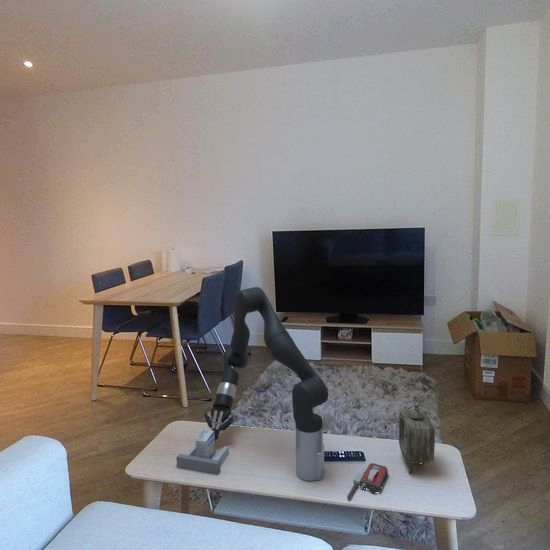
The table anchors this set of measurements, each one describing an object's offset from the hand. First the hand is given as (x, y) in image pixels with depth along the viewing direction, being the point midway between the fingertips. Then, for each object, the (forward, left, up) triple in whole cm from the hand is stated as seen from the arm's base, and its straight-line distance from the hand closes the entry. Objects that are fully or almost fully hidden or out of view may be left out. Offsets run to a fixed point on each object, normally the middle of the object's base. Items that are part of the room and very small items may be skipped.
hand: (213, 440), depth 155 cm
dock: (0, +7, -4) cm, 8 cm away
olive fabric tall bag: (-73, -11, -4) cm, 74 cm away
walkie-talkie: (-58, +5, -5) cm, 58 cm away
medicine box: (+1, +5, -4) cm, 6 cm away
